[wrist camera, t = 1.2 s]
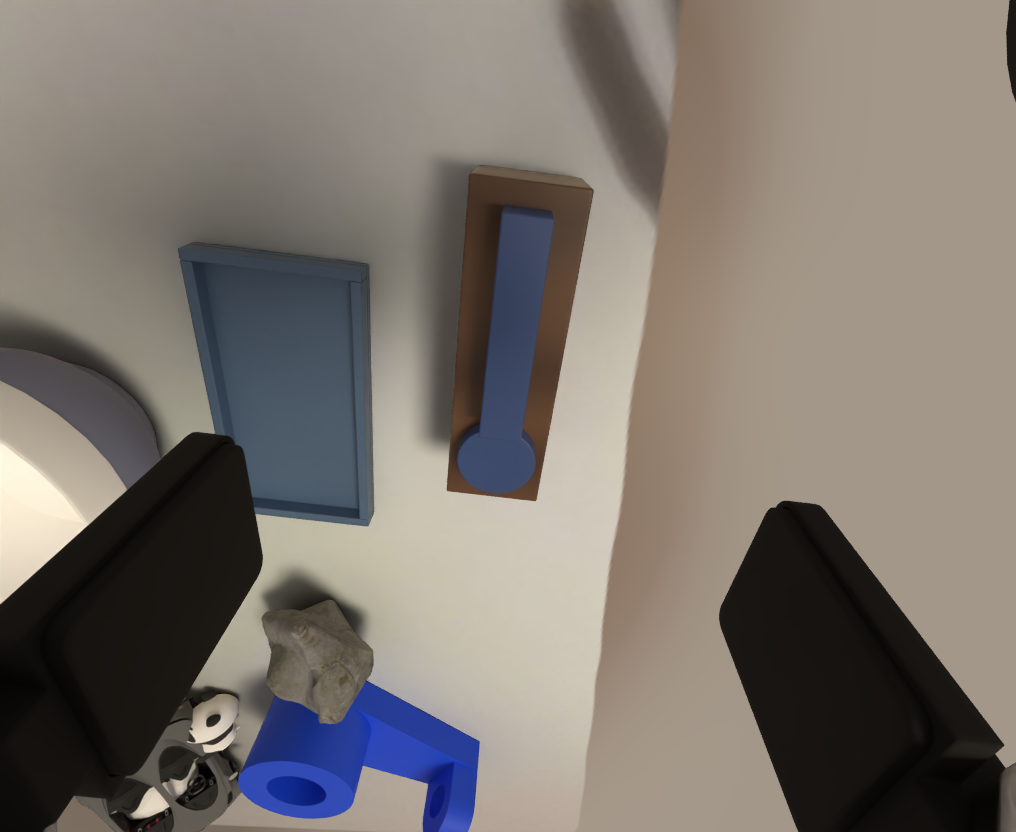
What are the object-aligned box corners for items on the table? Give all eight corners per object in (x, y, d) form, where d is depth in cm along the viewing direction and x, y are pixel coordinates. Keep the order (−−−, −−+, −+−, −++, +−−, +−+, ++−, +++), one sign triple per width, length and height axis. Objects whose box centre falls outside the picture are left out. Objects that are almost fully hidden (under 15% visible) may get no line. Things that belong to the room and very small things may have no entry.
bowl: (244, 516, 36) (158, 633, 28) (34, 523, 37) (-109, 638, 29) (149, 295, 28) (-11, 366, 20) (-114, 312, 29) (-370, 387, 21)
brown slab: (479, 164, 24) (469, 172, 20) (582, 178, 24) (594, 189, 20) (457, 442, 32) (446, 491, 28) (535, 451, 32) (536, 501, 28)
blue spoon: (479, 201, 20) (474, 208, 19) (577, 214, 20) (581, 222, 19) (456, 478, 27) (451, 501, 26) (529, 486, 27) (529, 510, 26)
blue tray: (194, 241, 26) (176, 247, 25) (369, 263, 27) (361, 270, 25) (241, 497, 35) (230, 511, 34) (374, 512, 35) (368, 526, 34)
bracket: (264, 701, 47) (221, 795, 41) (303, 653, 43) (263, 747, 37) (443, 770, 52) (430, 863, 46) (492, 732, 49) (486, 828, 42)
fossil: (253, 569, 38) (193, 666, 32) (368, 561, 38) (332, 660, 31) (300, 660, 44) (258, 760, 37) (401, 655, 43) (377, 757, 36)
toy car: (259, 735, 59) (284, 801, 53) (132, 817, 52) (144, 904, 46) (212, 633, 50) (235, 700, 44) (51, 716, 43) (54, 807, 37)
